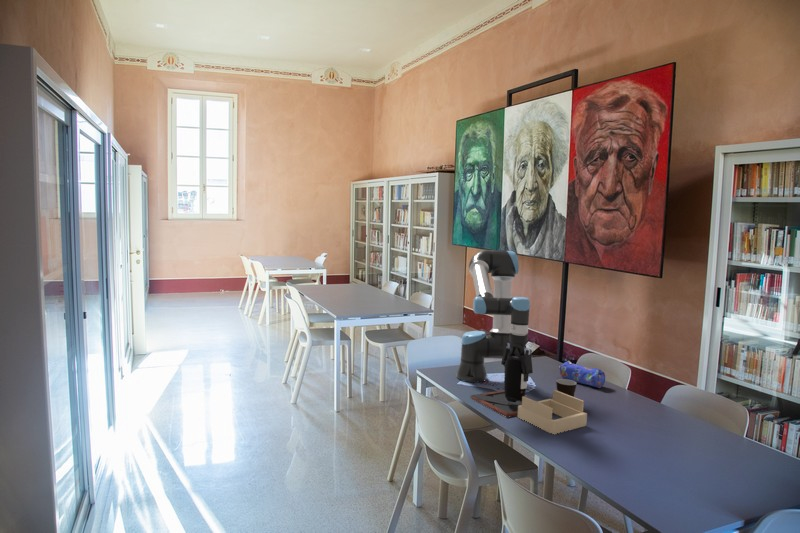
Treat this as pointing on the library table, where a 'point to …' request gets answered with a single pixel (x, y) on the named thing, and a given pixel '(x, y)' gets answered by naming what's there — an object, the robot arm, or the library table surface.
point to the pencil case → (582, 374)
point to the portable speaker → (513, 379)
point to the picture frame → (498, 402)
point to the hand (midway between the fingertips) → (515, 385)
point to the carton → (560, 405)
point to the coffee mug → (566, 386)
